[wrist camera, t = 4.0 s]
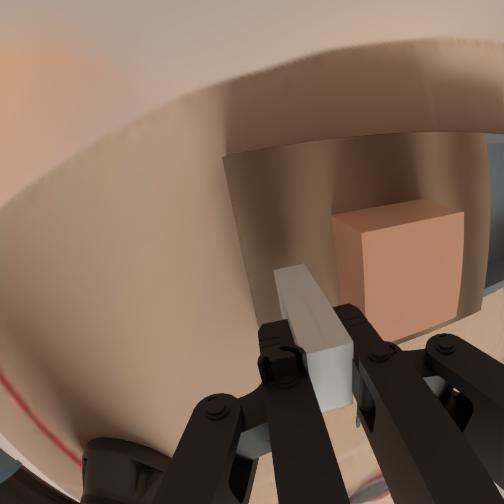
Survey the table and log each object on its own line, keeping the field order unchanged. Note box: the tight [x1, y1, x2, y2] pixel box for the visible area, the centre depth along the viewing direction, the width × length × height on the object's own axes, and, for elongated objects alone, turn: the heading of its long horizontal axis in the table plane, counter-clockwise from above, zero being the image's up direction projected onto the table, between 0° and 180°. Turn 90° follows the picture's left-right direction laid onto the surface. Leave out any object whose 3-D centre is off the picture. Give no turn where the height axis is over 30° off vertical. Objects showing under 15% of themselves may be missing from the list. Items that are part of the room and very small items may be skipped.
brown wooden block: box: [222, 132, 490, 345], centre depth 19 cm, size 18×14×6 cm
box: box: [483, 133, 504, 297], centre depth 20 cm, size 12×14×4 cm
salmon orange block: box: [331, 199, 464, 342], centre depth 14 cm, size 6×6×4 cm
